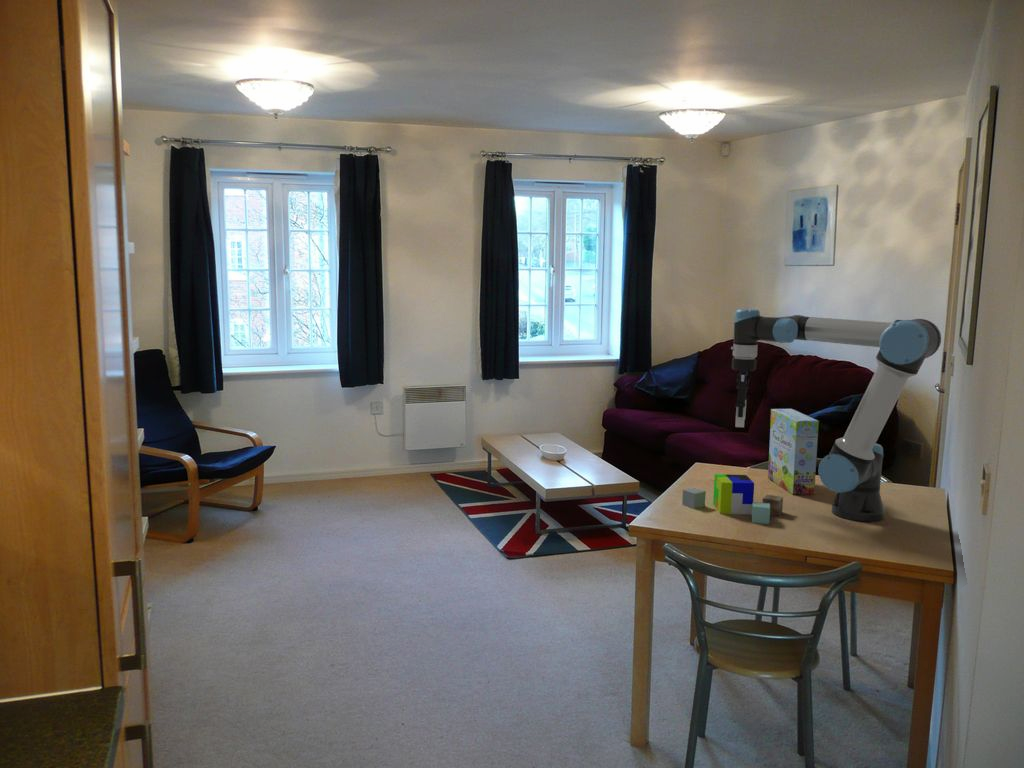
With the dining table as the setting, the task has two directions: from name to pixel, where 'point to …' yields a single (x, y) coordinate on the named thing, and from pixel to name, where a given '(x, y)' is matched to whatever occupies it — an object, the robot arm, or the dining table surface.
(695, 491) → the slate grey cube
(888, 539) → the dining table surface
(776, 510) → the walnut cube
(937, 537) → the dining table surface
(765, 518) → the dusty teal cube
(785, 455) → the snack box
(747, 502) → the puzzle toy
